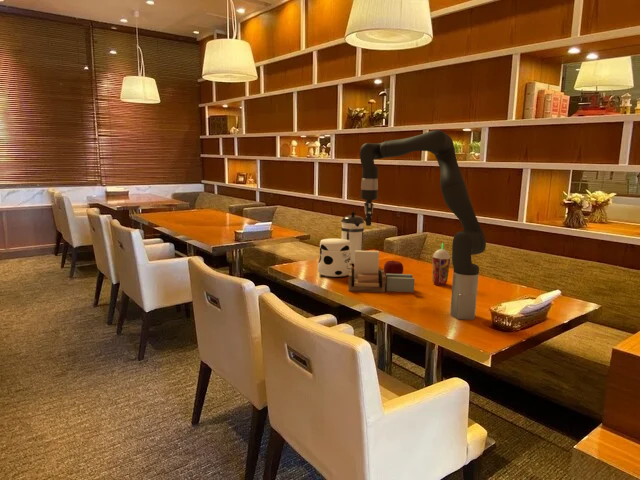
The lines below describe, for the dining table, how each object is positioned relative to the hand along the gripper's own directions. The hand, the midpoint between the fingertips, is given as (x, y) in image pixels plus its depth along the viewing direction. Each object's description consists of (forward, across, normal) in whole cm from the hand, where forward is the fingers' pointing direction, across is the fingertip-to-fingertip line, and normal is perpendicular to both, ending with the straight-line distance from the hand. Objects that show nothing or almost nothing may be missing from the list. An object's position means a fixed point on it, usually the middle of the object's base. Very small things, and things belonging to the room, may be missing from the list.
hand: (368, 224), depth 206 cm
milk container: (+30, +18, +15) cm, 38 cm away
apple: (+30, +13, -14) cm, 35 cm away
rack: (+30, -4, 0) cm, 30 cm away
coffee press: (+30, +46, +7) cm, 55 cm away
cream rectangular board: (+28, 0, 0) cm, 28 cm away
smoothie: (+30, +9, -36) cm, 48 cm away
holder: (+30, -5, -15) cm, 33 cm away
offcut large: (+28, -6, 0) cm, 29 cm away
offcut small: (+25, -6, 0) cm, 26 cm away
